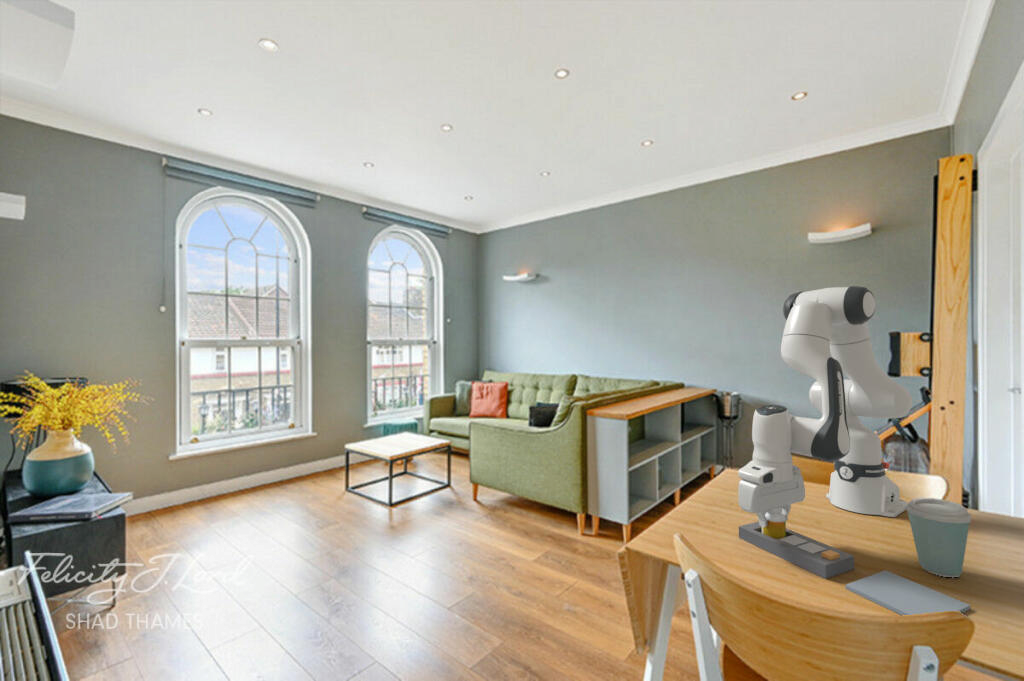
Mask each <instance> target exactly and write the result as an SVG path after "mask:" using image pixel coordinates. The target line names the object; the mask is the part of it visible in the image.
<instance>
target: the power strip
mask: <svg viewBox="0 0 1024 681" xmlns="http://www.w3.org/2000/svg"><path fill="white" fill-rule="evenodd" d="M738 538H739V539H740V540H742V541H745V542H747V543H749V544H751V545H754V546H755V547H757V548H760V549H761V550H764V551H766V552H767V553H770V554H773V555H774V556H776V557H778V558H780V559H782V560H785V561H787V562H789V563H791V564H793V565H795V566H798V567H800V568H801V569H804V570H806V571H807V572H810V573H812V574H814V575H816V576H818V577H821V578H823V579H825V580H827V579H830V578H833V577H836V576H839V575H841V574H844V573H847V572H850V571H853V570H855V555H854V554H853V555H852V553H851V554H850V553H847V552H845V551H843V550H840V549H838V548H835V547H833V546H830V545H828V544H825V543H823V542H821V541H818V540H816V539H814V538H810V537H808V536H806V535H804V534H801V533H798V532H797V531H793V530H791V529H788V528H787V527H786V537H783V538H780V539H774V538H772V537H769V536H767V535H765V534H763V533H762V526H760V525H759V520H757V521H755V522H750V523H746V524H743V525H739V526H738Z"/></svg>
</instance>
